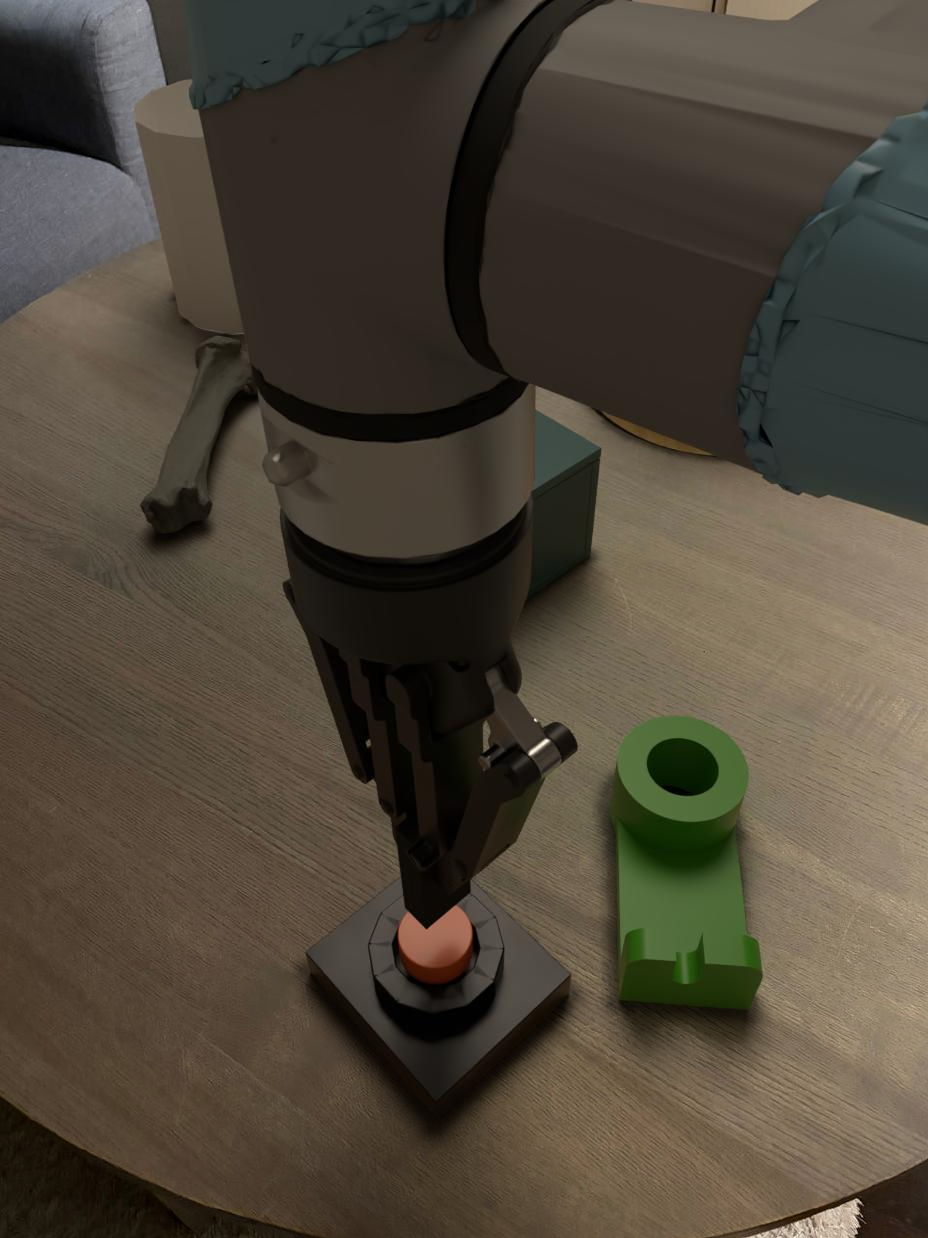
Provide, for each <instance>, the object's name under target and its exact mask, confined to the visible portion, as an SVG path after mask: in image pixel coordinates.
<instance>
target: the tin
mask: <svg viewBox="0 0 928 1238" xmlns="http://www.w3.org/2000/svg"><path fill="white" fill-rule="evenodd" d="M600 464H601V457H600V458H599V459H597V460H596V461H594V462H592V463H591V464H589V465H588V466H586V467H584V468H583V469H581V470H580V471H578V472H576V473H575V474H573V475H572V476H570V477H568V478H567V479H565V480H563V481H562V482H560V483H559V484H557V485H555V486H554V487H552V488H551V489H549V490H547V491H546V492H544V493H543V494H541V495H539V496H538V497H536V498H535V499H533V527H532V560H531V580H530V587H529V591H528V594H527V597H526V600H527V599H529V598H530V597H531V596H533V595H534V594H537V592H539V591H540V590H541V589H543V588H545V587H546V586H547V585H549V584H550V583H552V582H553V581H555V580H556V579H557V578H559V577H561V576H562V575H564V574H565V573H566V572H568V571H570V570H571V569H573V568H574V567H575V566H577V565H578V564H580V563H582V561H584V560H585V559H587V558H588V557H590V556H591V554H592V546H593V536H594V525H595V516H596V508H597V507H596V505H597V496H598V488H599V487H598V486H599V477H600V476H599V475H600V467H601V465H600Z"/></svg>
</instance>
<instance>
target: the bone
mask: <svg viewBox="0 0 928 1238" xmlns="http://www.w3.org/2000/svg"><path fill="white" fill-rule="evenodd" d="M241 349H242V342H241V341H240V340H238V339H235V338H232V337H226V336H221V335H214V336H213V337H210V338H209V339H207V340H206V341H205V340H204V341H203V342H200V344H199V345H198V346H197V347H196V348H195V352H194V362H195V366H196V369H197V371H196V374H195V377H194V380H193V383H192V387H191V392H190V395H189V398H188V401H187V403H186V405H185V407H184V408H185V409H184V411H183V413H182V415H181V418H180V420H179V422H178V425H177V427H176V429H175V431H174V432H173V434H172V437H171V439H170V441H169V443H168V445H167V447H166V450H165V455H164V458H163V462H162V464H161V468H160V470H159V475H158V480H157V482H156V485H155V486H154V487H153V488H152V489H151V490H150V491H149V493H148V494H147V495H145V496H144V498H143V499H142V501H141V502H140V504H139V507H140V509H141V511H142V513H143V514H144V517H145V518H146V519H145V520H146V522H147V523H148V524H150V525H151V526H152V527H153V528H154V529H155V530H156V532H157V533H160V534H166V535H168V534H170V533H176V532H177V531H180V530H181V529H183V528H184V527H185V526H187V524H189V523H192V522H196V521H197V522H198V521H204V520H206V519H207V518H208V517H209V516H210V514H211V512H212V510H213V506H214V505H213V501H212V499H211V497H210V493H209V491H208V490H209V489H208V483H207V475H208V471H209V467H210V461H211V454H212V451H213V449H214V446H215V444H216V441H217V439H218V436H219V432H220V430H221V425H222V422H223V420H224V416H225V412H226V409H227V407H228V405H229V404H230V402H231V401H232V399H233V398H234V397H235V396H236V394H237V393H238V392H240V390H242V389H243V388H244V387H245V386H246V387H247V388H248V390H249V393H250V395H252V396H256V395H258V391H257V386H256V383H255V381H254V377H253V374H252V369H251V364H250V359H249V356H248V351H244V350H243V351H241Z"/></svg>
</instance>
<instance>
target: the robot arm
mask: <svg viewBox="0 0 928 1238" xmlns="http://www.w3.org/2000/svg"><path fill="white" fill-rule="evenodd" d="M181 3H182V11H183V19H184V27H185V33H186V34H185V35H186V43H187V50H188V56H189V57H188V58H189V64H190V65H189V66H190V72H191V73H190V74H191V79H192V84H191V86H190V87H189V98H190V101H191V105H192V108H193V110H198V111H199V116H200V120H201V125H202V130H203V135H204V140H205V145H206V150H207V155H208V160H209V165H210V170H211V174H212V179H213V184H214V189H215V194H216V199H217V204H218V209H219V214H220V219H221V224H222V228H223V233H224V238H225V243H226V248H227V253H228V258H229V263H230V268H231V273H232V278H233V283H234V287H235V292H236V297H237V302H238V307H239V312H240V317H241V322H242V327H243V332H244V333H243V336H244V341H245V347H246V352H248V356H249V359H250V364H251V369H252V374H253V377H254V381H255V383H256V386H257V391H258V394H257V397H258V402H259V410H260V417H261V422H262V427H263V431H264V438H265V442H266V447H267V453H266V454H265V455H264V457H263V460H262V463H261V466H262V469H263V471H264V474H265V476H266V479H267V481H268V482H269V483H271V484H273V485H274V490H275V495H276V498H277V501H278V505H279V507H280V508H279V525H280V531H281V537H282V541H283V547H284V552H285V556H286V562H287V568H288V573H289V578H288V579H287V580H285V581H283V582H282V589H283V592H284V596H285V598H286V600H287V602H288V603H289V605H290V607H291V609H292V611H293V613H294V615H295V617H296V618H297V621H298V622H299V625H300V627H301V629H302V631H303V632H304V635H305V637H306V640H307V643H308V646H309V649H310V653H311V655H312V659H313V661H314V664H315V667H316V671H317V672H318V676H319V679H320V682H321V685H322V688H323V691H324V693H325V696H326V697H325V698H326V699H327V703H328V706H329V709H330V712H331V715H332V719H333V721H334V723H335V726H336V730H337V732H338V735H339V739H340V741H341V744H342V747H343V750H344V752H345V756H346V759H347V762H348V764H349V767H350V769H351V773H352V775H353V777H355V779H356V780H358V781H359V782H360V783H361V784H364V785H367V784H368V783H370V782H371V781H372V780H373V781H374V783H375V786H376V787H375V788H376V794H377V800H378V804H379V806H380V808H381V810H382V811H383V813H384V814H385V815H387V816H388V817H389V818H390V823H391V824H390V825H391V831H392V832H391V833H392V837H393V839H394V842H395V844H396V848H397V857H398V865H399V874H400V877H401V881H402V889H403V897H404V905H405V908H406V909H407V911H408V912H409V913H410V914H411V915H412V916H413V917H414V918H415V919H416V920H417V921H418V922H419V923H420V924H421V925H422V926H423V927H424V928H425V929H426V930H427V929H428V928H429V927H430V926H431V925H433V924H434V923H435V922H436V921H437V920H439V919H440V918H441V917H442V916H443V915H445V914H446V913H447V912H448V911H449V910H451V909H452V908H453V907H454V906H455V905H456V904H458V903H459V902H460V901H461V900H462V899H464V898H465V897H466V896H467V895H468V894H470V893H471V879H472V880H473V878H475V877H476V876H477V875H478V874H479V873H481V872H482V871H484V869H486V868H487V867H488V866H489V865H491V864H492V863H493V862H494V861H495V860H497V859H498V858H499V857H500V856H502V855H503V854H504V853H505V852H506V851H507V850H508V849H509V848H510V847H512V846H513V845H514V844H515V843H517V841H518V839H519V836H520V834H521V832H522V830H523V828H524V825H525V824H526V821H527V820H528V818H529V814H530V812H531V811H532V808H533V806H534V804H535V802H536V799H537V798H538V795H539V794H540V791H541V789H542V786H543V785H544V782H545V780H546V778H547V776H549V774H551V773H552V772H554V771H555V770H556V769H557V768H559V767H560V766H561V765H562V764H563V763H564V762H566V761H567V760H568V759H570V758H571V757H572V756H574V754H576V753H577V752H578V750H579V745H578V741H577V739H576V737H575V735H574V733H573V732H572V731H571V729H569V728H568V727H567V726H566V725H565V724H564V723H562V722H560V721H553V722H550V723H549V724H546V725H545V726H543V725H542V723H541V721H540V720H539V719H538V718H537V717H535V716H533V715H532V713H530V711H529V710H528V709H527V707H526V706H525V704H524V703H523V702H522V700H521V699H520V697H519V696H518V693H519V692H520V691H521V687H522V683H523V672H522V669H521V665H520V662H519V661H518V658H517V655H516V652H515V649H514V645H513V640H512V639H513V638H512V637H513V633H514V630H515V627H516V624H517V622H518V619H519V618H520V616H521V612H522V610H523V608H524V605H525V601H527V599H526V597H527V594H528V591H529V587H530V580H531V560H532V527H533V499H532V494H531V491H532V489H533V486H534V483H535V409H536V397H537V396H536V395H537V393H536V392H537V391H536V389H537V388H536V387H538V388H541V389H543V390H546V391H548V392H551V393H554V394H556V395H559V396H561V397H563V398H566V399H569V400H572V401H574V402H577V403H579V404H581V405H585V406H587V407H590V408H592V409H594V410H597V411H600V412H601V411H602V412H605V413H607V414H610V415H612V416H615V417H617V418H620V419H623V420H625V421H628V422H630V423H633V424H635V425H638V426H641V427H643V428H646V429H648V430H651V431H653V432H656V433H659V434H661V435H664V436H666V437H669V438H671V439H674V440H677V441H679V442H682V443H684V444H687V445H689V446H692V447H695V448H697V449H700V450H702V451H705V452H707V453H710V454H712V455H711V456H715V457H718V458H720V459H722V460H725V461H726V462H730V463H732V464H735V465H737V466H739V467H742V468H744V469H746V470H749V471H752V472H754V473H756V474H759V475H762V479H763V480H765V481H767V483H769V484H771V485H777V486H779V487H780V488H781V489H782V490H783V491H786V492H788V493H791V494H793V495H796V496H800V495H802V494H803V493H804V494H806V495H808V496H809V495H810V496H812V497H815V498H817V499H820V498H821V499H822V498H823V497H827V496H830V497H834V498H838V499H841V500H843V501H847V502H851V503H854V504H856V505H860V506H863V507H866V508H870V509H872V510H873V509H874V510H876V511H880V512H883V513H886V514H888V515H893V516H895V517H898V518H901V519H905V520H908V521H910V522H914V523H917V524H920V525H923V526H927V527H928V0H816V1H814V2H813V3H811V4H810V5H808V6H807V7H805V8H804V9H802V10H801V11H799V12H797V13H796V14H795V15H793V16H791V17H790V18H788V19H763V18H755V17H749V16H741V15H734V14H728V13H727V14H726V13H719V12H712V11H706V10H705V11H704V10H700V9H699V10H698V9H697V10H696V9H692V8H683V7H676V6H670V5H662V4H655V3H647V2H640V1H634V0H181ZM602 412H601V413H602ZM485 722H487V724H488V727H489V730H490V731H489V732H490V734H489V735H488V738H487V743H488V746H489V748H487V750H485V751H484V725H485ZM368 741H369V742H370V745H367V742H368Z"/></svg>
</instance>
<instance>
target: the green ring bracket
mask: <svg viewBox="0 0 928 1238" xmlns="http://www.w3.org/2000/svg"><path fill="white" fill-rule="evenodd" d="M616 758H617V759H616V764H615V771H614V775H613V782H612V790H611V796H610V803H609V815H610V816H609V817H610V821H611V823H612V826H613V830H614V831H615V877H616V878H615V879H616V880H615V882H616V884H615V885H616V921H617V922H616V928H617V930H616V932H617V934H616V936H617V938H616V939H617V983H618V985H617V986H618V987H617V989H618V1001H628V1002H640V1003H641V1002H642V1003H653V1004H666V1005H679V1006H680V1005H681V1006H693V1007H705V1008H720V1009H731V1010H745V1011H749V1010H750V1008H751V1007H752V1004H753V1002H754V999H755V997H756V994H757V992H758V990H759V988H760V985H761V983H762V981H763V978H764V973H763V972H764V971H763V965H762V956H761V949H760V948H761V947H760V942H759V941H758V939H756V938H754V937H753V936H750V935H748V932H747V931H748V930H747V921H746V914H745V913H746V912H745V911H746V910H745V903H744V895H743V886H742V875H741V868H740V867H741V866H740V859H739V850H738V841H737V832H736V824H737V821H738V818H739V814H740V811H741V809H742V806H743V801H744V799H745V795H746V792H747V789H748V785H749V780H750V778H749V777H750V775H749V774H750V772H749V766H748V762H747V760H746V757H745V755H744V753H743V751H742V750H741V748H740V746H739V745H738V744H737V742H735V740H734V739H733V738H732V737H731V736H730V735H729V734H728V733H726V732H725V731H723V730H722V729H721V728H719V727H717V726H715V725H713V724H711V723H709V722H707V721H704V720H702V719H699V718H697V717H690V716H685V715H663V716H657V717H654V718H650V719H647V720H646V721H643V722H642V723H639V724H638V725H636V726H635V727H634V728H632V729H631V730H630V731H629V732H628V733H627V735H625V737H624V738H623V740H622V742H621V743H620V746H619V748H618V752H617V757H616ZM663 787H674V788H675V787H676V788H679V789H682V790H684V791H687V792H688V793H690V794H691V795H679V794H675V793H672V792H669V791H668V790H666V789H664V788H663Z"/></svg>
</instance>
